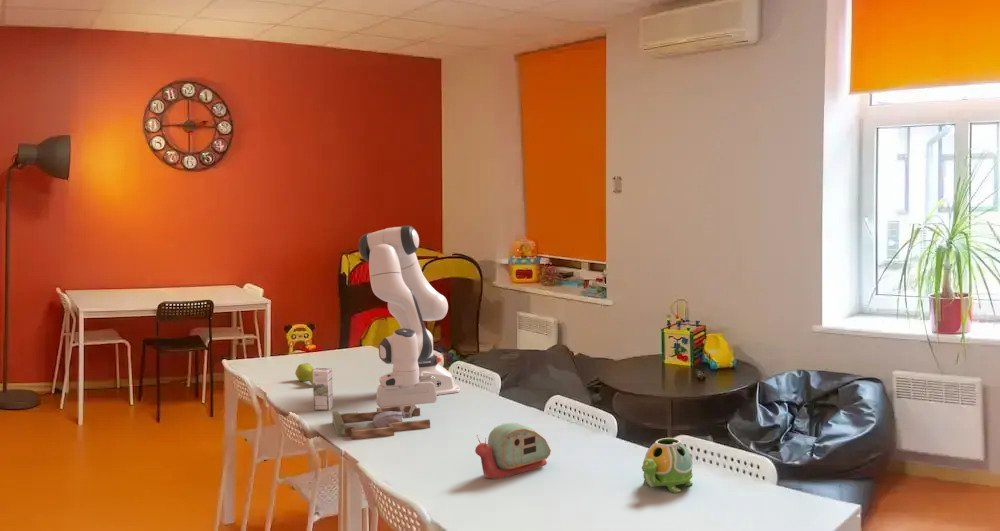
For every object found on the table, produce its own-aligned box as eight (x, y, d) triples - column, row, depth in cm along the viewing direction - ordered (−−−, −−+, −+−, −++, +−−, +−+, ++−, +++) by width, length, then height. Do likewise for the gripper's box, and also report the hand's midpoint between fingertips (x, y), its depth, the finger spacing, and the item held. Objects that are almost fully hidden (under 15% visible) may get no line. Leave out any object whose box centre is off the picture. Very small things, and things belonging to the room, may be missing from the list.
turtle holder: (624, 491, 235) (623, 446, 234) (662, 473, 249) (662, 431, 247) (664, 502, 227) (664, 456, 226) (701, 483, 240) (702, 439, 239)
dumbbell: (329, 385, 361) (329, 368, 360) (311, 388, 356) (310, 370, 356) (312, 378, 374) (311, 361, 374) (294, 381, 370) (293, 364, 369)
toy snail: (537, 459, 263) (536, 412, 262) (554, 465, 257) (554, 418, 256) (468, 478, 248) (467, 429, 246) (485, 485, 242) (484, 435, 240)
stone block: (375, 436, 296) (405, 428, 298) (372, 422, 296) (401, 414, 297) (375, 427, 308) (403, 420, 309) (372, 414, 308) (400, 406, 309)
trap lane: (416, 411, 319) (416, 400, 318) (433, 431, 293) (432, 419, 293) (331, 419, 310) (330, 407, 310) (340, 440, 285) (339, 428, 284)
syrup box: (333, 406, 327) (332, 367, 326) (329, 410, 322) (327, 370, 320) (318, 406, 328) (316, 367, 327) (313, 410, 322) (311, 370, 321)
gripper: (434, 373, 309) (435, 412, 310) (374, 378, 303) (376, 418, 304) (438, 377, 303) (439, 417, 304) (377, 382, 297) (379, 423, 298)
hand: (407, 417), depth 304 cm, fingers closed
